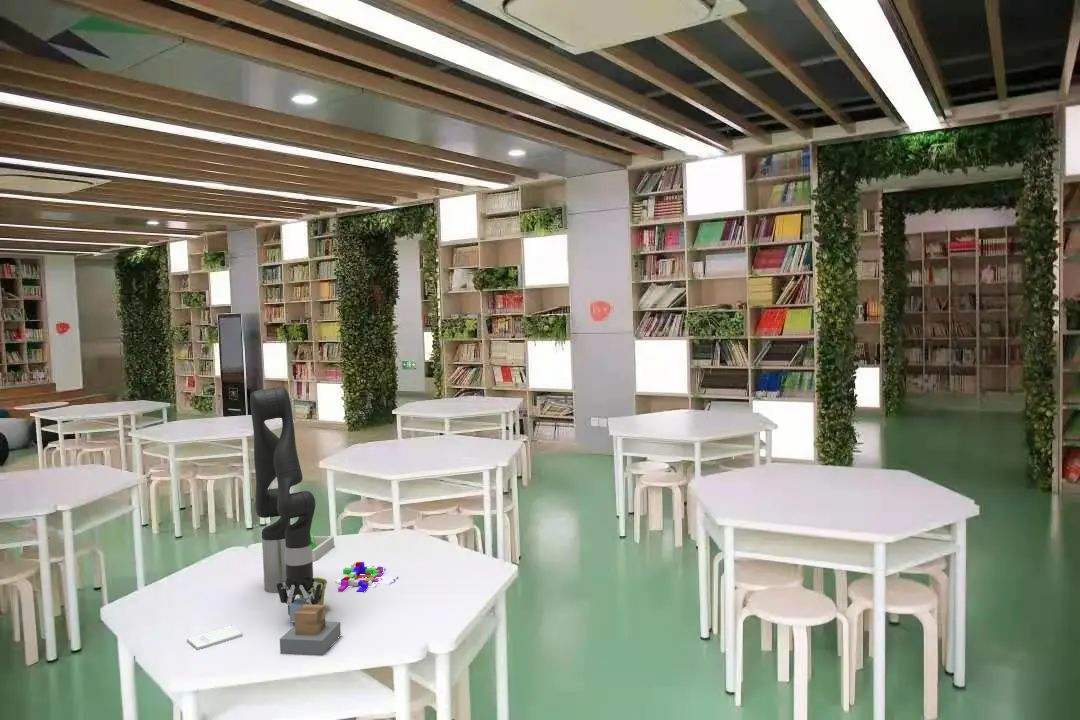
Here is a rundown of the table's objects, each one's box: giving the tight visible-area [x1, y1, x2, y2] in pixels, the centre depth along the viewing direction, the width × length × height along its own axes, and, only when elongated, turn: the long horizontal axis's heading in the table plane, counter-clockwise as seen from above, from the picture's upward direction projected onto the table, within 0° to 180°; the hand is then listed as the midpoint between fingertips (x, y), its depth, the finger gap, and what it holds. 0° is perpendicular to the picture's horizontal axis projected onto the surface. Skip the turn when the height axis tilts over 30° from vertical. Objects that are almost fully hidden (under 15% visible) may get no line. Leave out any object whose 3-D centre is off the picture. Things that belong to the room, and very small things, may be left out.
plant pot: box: [298, 577, 328, 605], centre depth 235 cm, size 9×9×9 cm
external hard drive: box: [186, 625, 243, 651], centre depth 217 cm, size 2×8×12 cm
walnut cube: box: [294, 604, 326, 635], centre depth 211 cm, size 6×6×6 cm
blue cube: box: [289, 597, 308, 623], centre depth 226 cm, size 5×5×5 cm
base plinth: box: [279, 621, 342, 656], centre depth 211 cm, size 12×12×4 cm
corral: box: [311, 535, 335, 562], centre depth 292 cm, size 17×17×4 cm
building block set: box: [334, 561, 384, 593], centre depth 262 cm, size 25×20×4 cm
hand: (301, 616), depth 226 cm, fingers closed on blue cube, 5 cm apart
